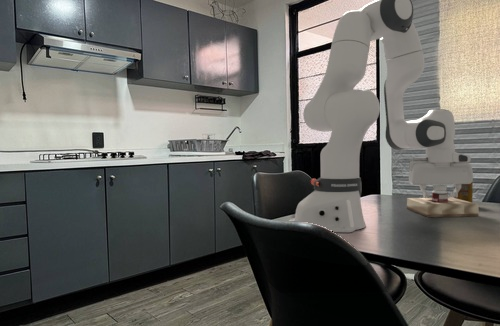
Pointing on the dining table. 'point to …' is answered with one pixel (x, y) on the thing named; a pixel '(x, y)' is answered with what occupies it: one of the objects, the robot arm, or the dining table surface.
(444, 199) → the pill bottle
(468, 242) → the dining table surface
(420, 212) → the well block
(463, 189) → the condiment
